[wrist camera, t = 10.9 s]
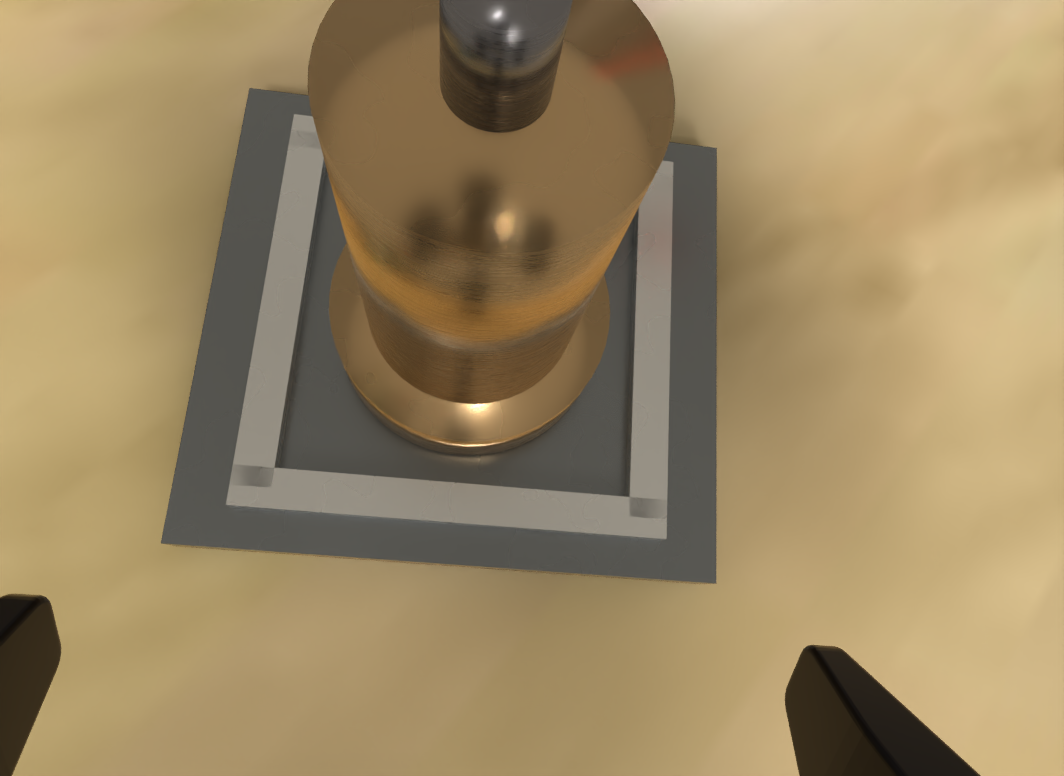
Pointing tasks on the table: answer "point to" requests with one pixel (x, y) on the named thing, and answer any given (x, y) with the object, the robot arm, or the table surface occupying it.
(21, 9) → the table surface
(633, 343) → the press bed
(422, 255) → the amber cylindrical piece
